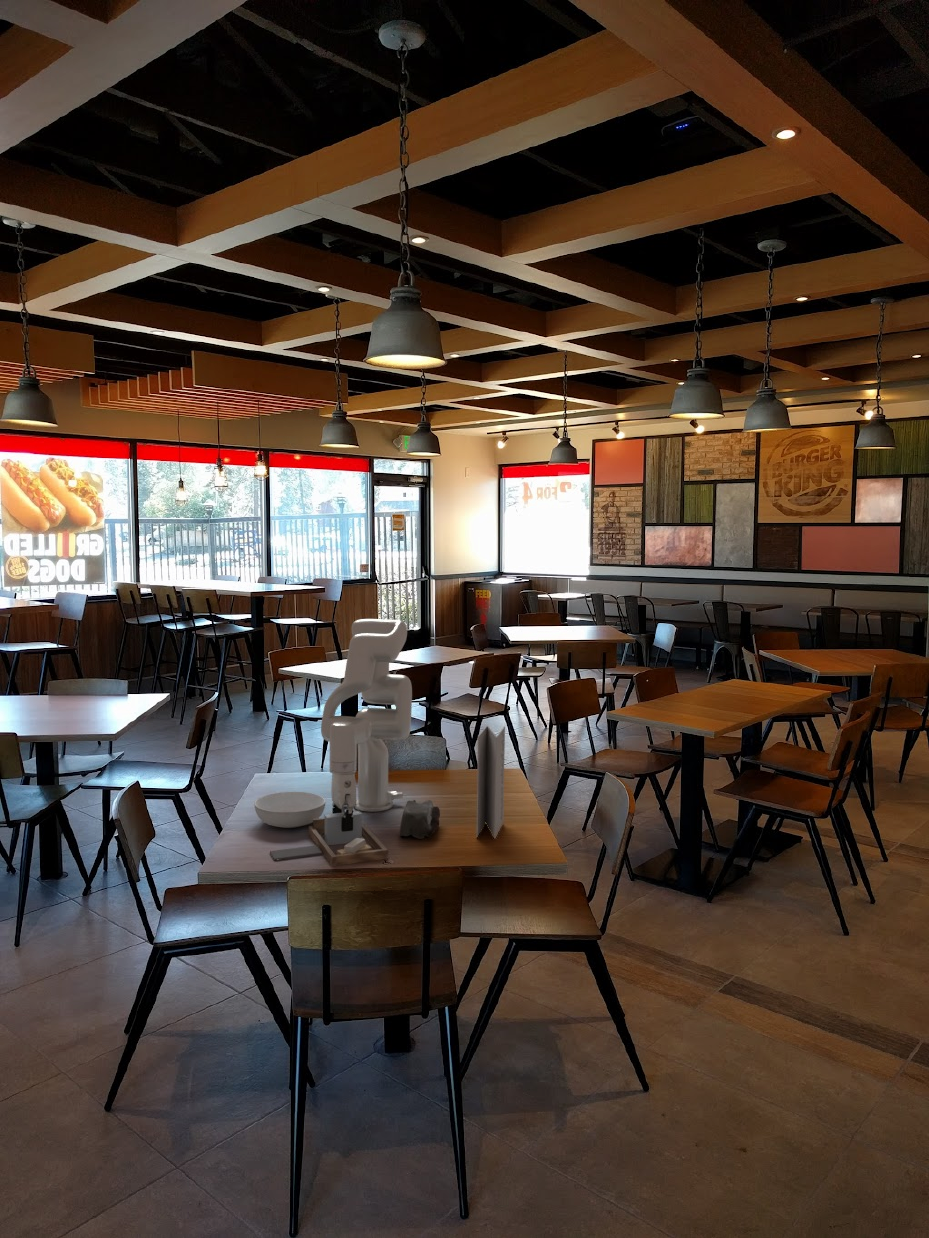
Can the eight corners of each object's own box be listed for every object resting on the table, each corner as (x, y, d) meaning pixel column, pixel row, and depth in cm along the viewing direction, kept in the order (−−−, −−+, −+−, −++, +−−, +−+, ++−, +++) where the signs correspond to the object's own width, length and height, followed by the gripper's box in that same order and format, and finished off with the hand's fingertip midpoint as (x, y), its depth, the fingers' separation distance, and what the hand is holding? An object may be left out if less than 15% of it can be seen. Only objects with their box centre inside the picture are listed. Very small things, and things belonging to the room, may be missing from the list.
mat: (317, 847, 252) (317, 845, 252) (322, 854, 246) (322, 852, 246) (270, 853, 247) (270, 851, 246) (274, 860, 241) (274, 858, 241)
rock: (437, 843, 256) (437, 816, 255) (397, 842, 256) (398, 815, 256) (441, 823, 274) (441, 797, 274) (404, 822, 275) (404, 796, 274)
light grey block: (358, 837, 260) (358, 810, 259) (361, 841, 257) (361, 813, 256) (324, 842, 256) (324, 814, 255) (327, 845, 253) (327, 817, 252)
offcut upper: (356, 844, 250) (356, 837, 249) (365, 845, 249) (365, 838, 248) (344, 852, 243) (344, 846, 243) (352, 853, 242) (352, 847, 242)
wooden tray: (360, 828, 268) (360, 813, 267) (388, 858, 244) (388, 842, 243) (308, 834, 262) (308, 819, 261) (332, 866, 238) (332, 849, 237)
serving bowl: (330, 831, 265) (330, 808, 264) (256, 837, 259) (256, 814, 258) (320, 809, 285) (320, 788, 284) (252, 815, 279) (252, 793, 278)
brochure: (495, 840, 259) (497, 737, 256) (476, 838, 260) (477, 736, 257) (503, 824, 273) (505, 726, 270) (485, 822, 274) (486, 725, 271)
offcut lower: (366, 851, 250) (366, 844, 250) (371, 855, 247) (371, 847, 247) (336, 858, 245) (336, 850, 245) (341, 861, 242) (341, 853, 242)
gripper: (364, 772, 248) (364, 833, 249) (347, 758, 264) (347, 816, 265) (338, 774, 245) (337, 836, 246) (322, 760, 261) (321, 818, 262)
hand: (342, 825), depth 255 cm, fingers open, 9 cm apart
